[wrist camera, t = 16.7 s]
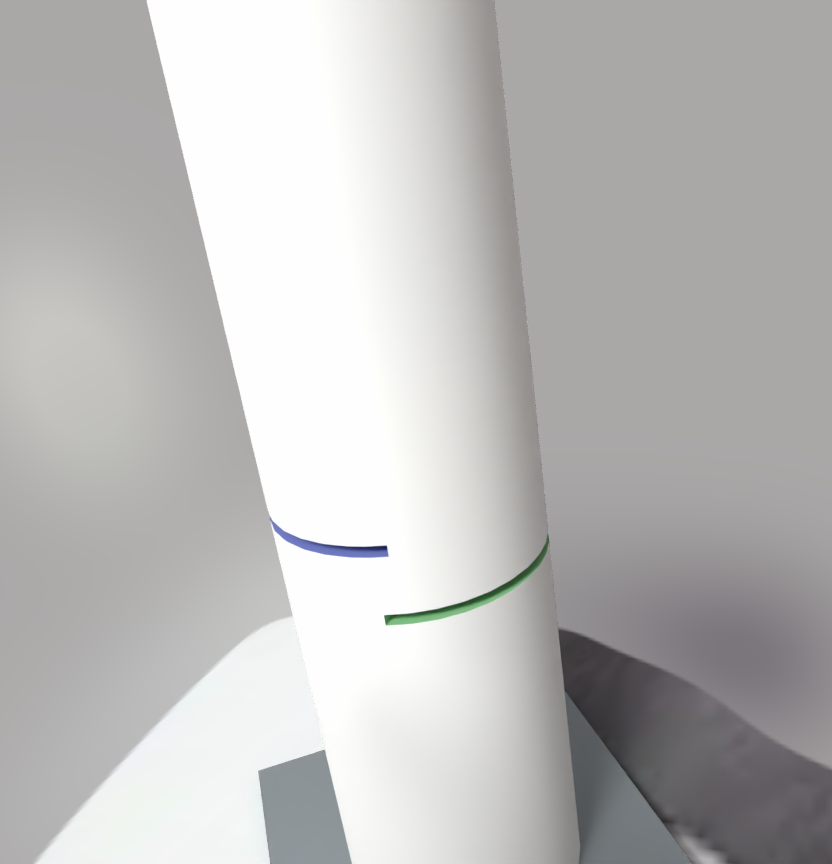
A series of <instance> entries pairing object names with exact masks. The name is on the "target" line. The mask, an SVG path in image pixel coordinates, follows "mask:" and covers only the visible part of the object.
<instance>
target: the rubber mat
mask: <svg viewBox="0 0 832 864" xmlns="http://www.w3.org/2000/svg"><path fill="white" fill-rule="evenodd" d="M564 692H565V690H564ZM565 702H566V712H567V721H568V731H569V741H570V751H571V761H572V770H573V780H574V790H575V800H576V810H577V819H578V829H579V839H580V857H579V864H692V862H691V861H690V860H689V858H688V857H687V856H686V854H685V853H684V851H683V850H682V849H681V847H680V846H679V845H678V843H677V842H676V841H675V839H674V838H673V837H672V835H671V834H670V832H669V831H668V830H667V828H666V827H665V826H664V824H663V823H662V822H661V820H660V819H659V818H658V816H657V815H656V814H655V812H654V811H653V809H652V808H651V807H650V805H649V804H648V803H647V801H646V800H645V799H644V797H643V796H642V795H641V793H640V792H639V790H638V789H637V788H636V786H635V785H634V784H633V782H632V781H631V780H630V778H629V777H628V776H627V774H626V773H625V772H624V770H623V769H622V767H621V766H620V765H619V763H618V762H617V761H616V759H615V758H614V757H613V755H612V754H611V753H610V751H609V750H608V748H607V747H606V746H605V744H604V743H603V742H602V740H601V739H600V738H599V736H598V735H597V734H596V732H595V731H594V730H593V728H592V727H591V725H590V724H589V723H588V721H587V720H586V719H585V717H584V716H583V715H582V713H581V712H580V711H579V709H578V708H577V706H576V705H575V704H574V702H573V701H572V700H571V698H570V697H569V696H568V694H567V693H566V692H565ZM258 772H259V779H260V787H261V795H262V803H263V811H264V818H265V826H266V834H267V842H268V849H269V857H270V864H352V862H351V858H350V854H349V849H348V845H347V841H346V837H345V833H344V828H343V824H342V820H341V816H340V811H339V807H338V803H337V799H336V795H335V790H334V786H333V782H332V778H331V774H330V769H329V765H328V761H327V757H326V752H325V750H322V751H319V752H316V753H313V754H310V755H307V756H304V757H300V758H297V759H294V760H291V761H288V762H285V763H282V764H278V765H275V766H272V767H269V768H266V769H263V770H260V771H258Z"/></svg>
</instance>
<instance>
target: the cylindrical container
mask: <svg viewBox="0 0 832 864" xmlns="http://www.w3.org/2000/svg"><path fill="white" fill-rule="evenodd" d="M147 5H148V9H149V13H150V17H151V21H152V26H153V29H154V34H155V38H156V42H157V47H158V51H159V55H160V59H161V63H162V67H163V72H164V75H165V80H166V84H167V89H168V93H169V97H170V101H171V105H172V109H173V113H174V118H175V122H176V126H177V130H178V135H179V139H180V143H181V147H182V151H183V155H184V160H185V164H186V168H187V172H188V176H189V181H190V185H191V189H192V193H193V198H194V202H195V206H196V210H197V214H198V219H199V222H200V227H201V231H202V235H203V239H204V244H205V247H206V252H207V256H208V260H209V264H210V269H211V273H212V277H213V282H214V285H215V290H216V294H217V298H218V303H219V306H220V311H221V315H222V319H223V323H224V328H225V332H226V336H227V341H228V344H229V349H230V353H231V357H232V361H233V366H234V370H235V374H236V378H237V383H238V386H239V391H240V395H241V399H242V404H243V408H244V412H245V416H246V420H247V425H248V429H249V433H250V437H251V442H252V446H253V450H254V454H255V458H256V463H257V467H258V471H259V475H260V479H261V484H262V488H263V492H264V496H265V501H266V505H267V509H268V512H269V514H270V521H271V526H272V530H273V534H274V538H275V543H276V547H277V551H278V555H279V559H280V563H281V568H282V572H283V576H284V580H285V585H286V588H287V593H288V597H289V601H290V606H291V610H292V614H293V618H294V622H295V626H296V631H297V635H298V639H299V643H300V647H301V652H302V656H303V660H304V664H305V668H306V673H307V677H308V681H309V685H310V689H311V694H312V698H313V702H314V706H315V710H316V715H317V719H318V723H319V727H320V731H321V736H322V740H323V744H324V748H325V752H326V757H327V761H328V765H329V769H330V774H331V778H332V782H333V786H334V790H335V795H336V799H337V803H338V807H339V811H340V816H341V820H342V824H343V828H344V833H345V837H346V841H347V845H348V849H349V854H350V858H351V862H352V864H579V857H580V839H579V829H578V819H577V810H576V800H575V790H574V780H573V770H572V761H571V751H570V741H569V731H568V721H567V712H566V702H565V692H564V682H563V672H562V663H561V653H560V643H559V633H558V623H557V615H556V604H555V594H554V584H553V575H552V565H551V555H550V545H549V538H548V525H547V515H546V504H545V494H544V484H543V473H542V464H541V454H540V445H539V434H538V424H537V415H536V405H535V395H534V386H533V376H532V365H531V355H530V346H529V336H528V326H527V316H526V306H525V297H524V287H523V278H522V268H521V258H520V247H519V238H518V228H517V218H516V208H515V198H514V189H513V179H512V169H511V159H510V149H509V140H508V130H507V120H506V110H505V100H504V90H503V82H502V71H501V61H500V52H499V41H498V33H497V32H498V31H497V22H496V12H495V2H494V0H147Z"/></svg>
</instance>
